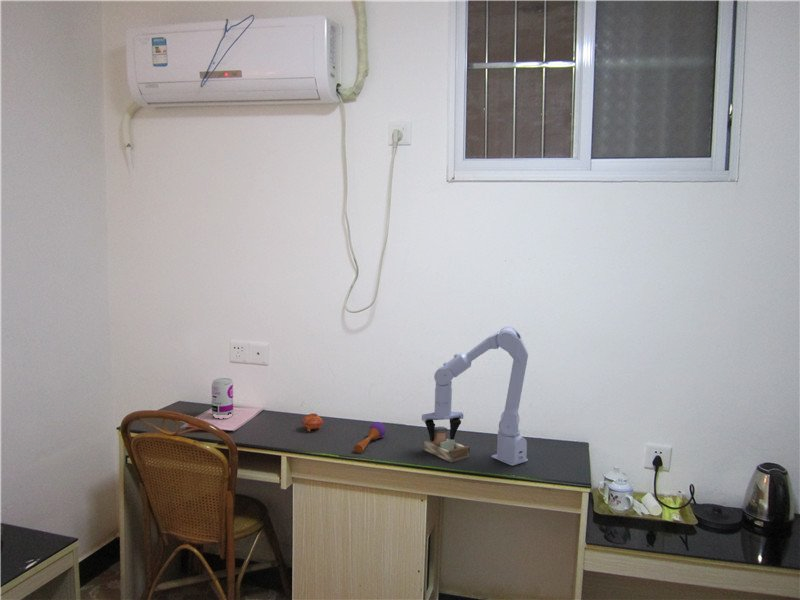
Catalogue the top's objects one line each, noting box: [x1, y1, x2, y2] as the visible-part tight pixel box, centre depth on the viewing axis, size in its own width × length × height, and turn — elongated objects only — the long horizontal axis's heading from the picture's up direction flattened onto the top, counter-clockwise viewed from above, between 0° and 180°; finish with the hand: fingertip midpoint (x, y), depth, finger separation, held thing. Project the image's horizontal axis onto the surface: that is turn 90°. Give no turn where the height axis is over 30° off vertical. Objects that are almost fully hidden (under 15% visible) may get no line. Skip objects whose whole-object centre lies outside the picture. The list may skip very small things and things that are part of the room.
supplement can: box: [211, 377, 234, 415], centre depth 233 cm, size 8×8×15 cm
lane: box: [423, 438, 471, 463], centre depth 199 cm, size 14×8×4 cm, turn 37°
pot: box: [301, 412, 324, 433], centre depth 220 cm, size 8×8×7 cm
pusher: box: [440, 439, 456, 451], centre depth 199 cm, size 1×6×3 cm, turn 127°
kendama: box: [353, 421, 387, 454], centre depth 207 cm, size 6×6×20 cm
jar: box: [433, 426, 448, 447], centre depth 201 cm, size 5×5×7 cm
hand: (441, 439), depth 201 cm, fingers open, 7 cm apart
